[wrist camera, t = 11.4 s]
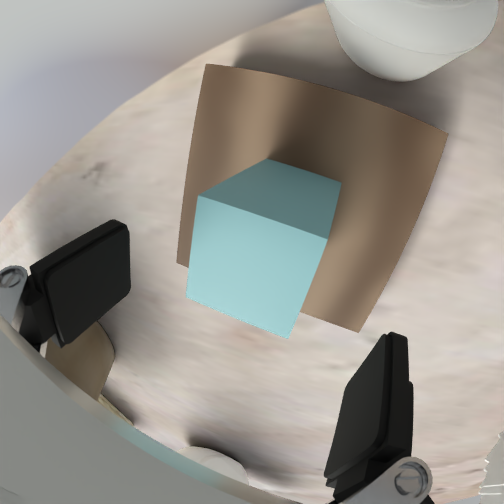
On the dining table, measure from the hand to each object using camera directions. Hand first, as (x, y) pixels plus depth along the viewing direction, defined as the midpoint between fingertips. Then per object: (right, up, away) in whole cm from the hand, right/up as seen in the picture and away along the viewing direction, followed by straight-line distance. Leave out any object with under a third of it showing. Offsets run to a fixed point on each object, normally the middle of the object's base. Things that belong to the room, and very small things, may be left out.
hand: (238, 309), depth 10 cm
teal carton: (+3, +5, +10) cm, 11 cm away
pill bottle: (+10, +17, +6) cm, 21 cm away
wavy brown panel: (+4, +7, +13) cm, 15 cm away
